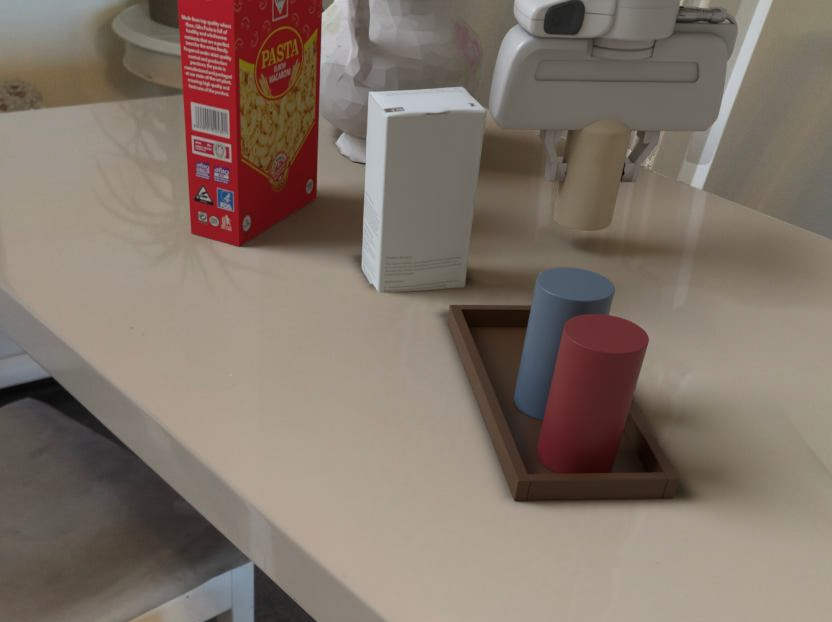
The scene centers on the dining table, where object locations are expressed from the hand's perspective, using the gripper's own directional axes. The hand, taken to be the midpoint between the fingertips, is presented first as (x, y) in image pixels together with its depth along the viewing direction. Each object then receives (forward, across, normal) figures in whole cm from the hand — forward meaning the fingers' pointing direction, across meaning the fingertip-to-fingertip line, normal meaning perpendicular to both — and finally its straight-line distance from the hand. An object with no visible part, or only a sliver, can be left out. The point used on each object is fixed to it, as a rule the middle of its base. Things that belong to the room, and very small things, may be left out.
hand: (589, 180), depth 90 cm
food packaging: (+6, +31, -6) cm, 32 cm away
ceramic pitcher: (+6, +16, -25) cm, 30 cm away
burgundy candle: (+5, +10, +37) cm, 39 cm away
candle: (+4, 0, 0) cm, 4 cm away
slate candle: (+5, +11, +30) cm, 33 cm away
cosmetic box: (+6, +18, +9) cm, 21 cm away
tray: (+6, +11, +30) cm, 32 cm away
